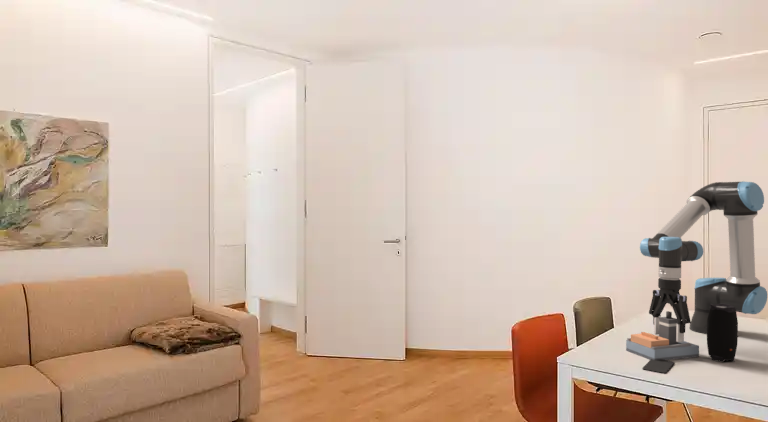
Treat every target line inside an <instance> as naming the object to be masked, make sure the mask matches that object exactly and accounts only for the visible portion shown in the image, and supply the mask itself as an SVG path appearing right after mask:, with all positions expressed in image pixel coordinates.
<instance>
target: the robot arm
mask: <svg viewBox="0 0 768 422" xmlns="http://www.w3.org/2000/svg"><path fill="white" fill-rule="evenodd" d="M764 204H765V197H764V192H763V189H762V188H761V187H760V186H759V184H758V183H756V182H754V181H753V182H752V181H744V180H743V181H724V182H723V181H721V182H720V181H717V182H712V183H709V184H707V185H705V186H703V187H701V188H699V189H698V190H696V191H695V192H693V193H692V194H691V195H690V196H689V198H688V199H687V200H686V203H685V205H684V206H682V208H681V209H680V210H679V211H678V212H676V214H675V215H674V216H673V217H672V218H671V219H670V220H669V221H668V222H667V223H666V224H665V225H664V226H663V227H662V228H661V229H660V230H659V231H658V232H657V233H656V234H655V235H654V236H653V237H648V238H646V237H645V238H643V239H642V240H641V241H640V244H639V251H640V253H641V255H643V256H644V257H648V258H652V259H653V258H655V259H656V258H657V259H658V277H659V278H658V281H657V286H658V288H659V289H653V290H652V298H651V302H650V305H649V311H648V314H649V315H652V318H653V320H652V322H653V335H656V336H659V317H662V312H663V310H664V308H665V307H666V305H667V304H668V305H670V307H671V308H672V310H673V312H674V314H675V318H676V319H677V320H678V323H677V328H676V341H677V342H682V341H685V333H686V324H689V329H690V330H691V331H693V332H697V333H702V334H706V335H707V318H708V314H709V310H710V304H713V305H715V304H720V303H721V304H729V305H731V306H733V307H735V309H736V313H737V312H739V313H742V314H745V315H746V314H748V315H757V314H759V313H761V312H762V311H763V310H764V308H765V307H766V305H767V301H768V291H767V289H766V288H765V287H764V286H761V281H760V279H758V278H757V277H756V261H755V259H756V257H755V233H754V232H755V231H754V228H755V227H754V218H755V217H757V216H758V212H759V211H760V210H762V209H763V208H764ZM717 210H719V211H722V212H723V216H724V217H725V218H726V219H727V223H728V224H727V225H728V247H729V248H728V249H729V250H728V251H729V253H728V254H729V271H730V273H729V274H730V276H729V277H728V278H726V277H702V278H701V277H700V278H698V279H696V280H695V284H694V312H693V314H692V316H690V312H689V307H688V296H687V295H682V294H680V291H681V289H682V280H681V278H682V262H695V261H698V260H700V259H701V258H702V257H703V255H704V247H703V245H702V244H701V243H700V242H698V241H696V240H682V237H683V236H684V235H685V234H686V233H687V232H688V231H689V230H690V229H691V228H692V227H693V225H695V224H696V223H697V221H698V220H700V218H702V216H707V215H708V214H709V213H710V212H713V211H717Z"/></svg>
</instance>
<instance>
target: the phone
mask: <svg viewBox="0 0 768 422" xmlns="http://www.w3.org/2000/svg"><path fill="white" fill-rule="evenodd" d="M673 366H675V362H674V361H672V360H661V359H659V360H653V359H651V360H650V359H649V360H648V362H647V363H646V364H645V365H644V366H643V367H642V370H643V371H647V372H652V373H656V374H662V375H664V374H667V373H668V372H669V371H670V369H672V367H673Z"/></svg>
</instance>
